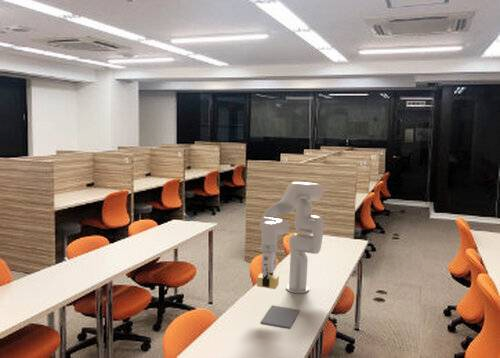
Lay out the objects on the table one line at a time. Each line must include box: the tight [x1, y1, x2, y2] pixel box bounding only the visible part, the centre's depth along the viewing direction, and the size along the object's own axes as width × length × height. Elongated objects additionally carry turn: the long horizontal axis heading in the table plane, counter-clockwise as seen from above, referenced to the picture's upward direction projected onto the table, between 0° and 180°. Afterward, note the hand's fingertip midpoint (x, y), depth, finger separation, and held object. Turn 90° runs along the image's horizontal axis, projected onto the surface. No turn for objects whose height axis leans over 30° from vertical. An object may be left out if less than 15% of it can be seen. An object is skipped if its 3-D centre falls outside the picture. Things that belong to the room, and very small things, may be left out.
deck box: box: [256, 272, 280, 290], centre depth 216 cm, size 9×6×4 cm, turn 72°
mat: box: [260, 305, 300, 329], centre depth 216 cm, size 20×14×1 cm
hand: (267, 283), depth 217 cm, fingers closed on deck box, 6 cm apart
